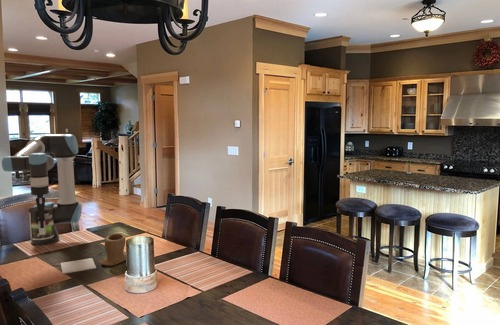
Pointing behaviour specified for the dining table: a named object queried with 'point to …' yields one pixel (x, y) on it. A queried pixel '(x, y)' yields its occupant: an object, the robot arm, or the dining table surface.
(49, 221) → the coffee can
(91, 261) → the grey mat
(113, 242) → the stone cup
